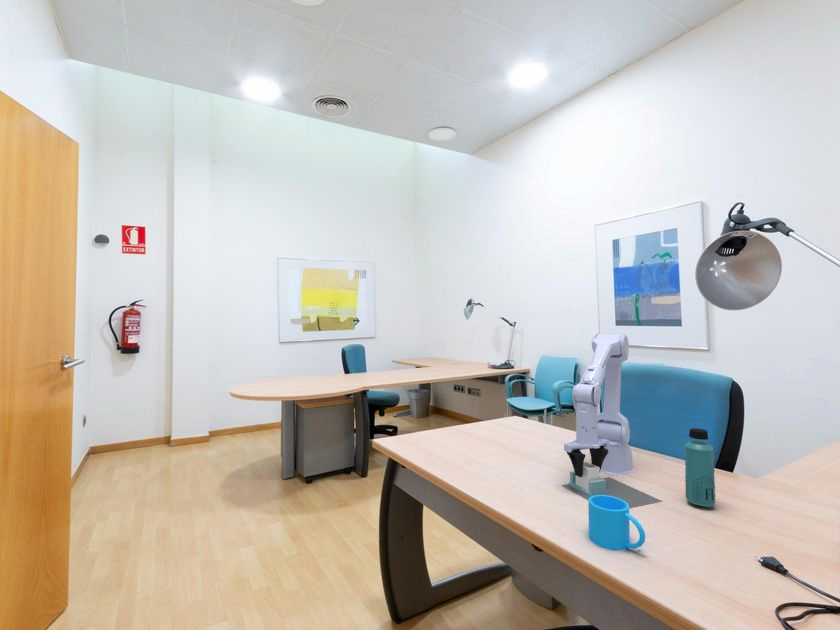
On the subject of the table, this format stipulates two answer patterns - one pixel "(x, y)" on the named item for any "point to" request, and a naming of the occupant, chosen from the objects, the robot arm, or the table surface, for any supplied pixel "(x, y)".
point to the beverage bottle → (699, 469)
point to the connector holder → (594, 486)
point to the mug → (611, 523)
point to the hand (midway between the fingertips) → (587, 474)
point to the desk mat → (622, 493)
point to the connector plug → (588, 475)
